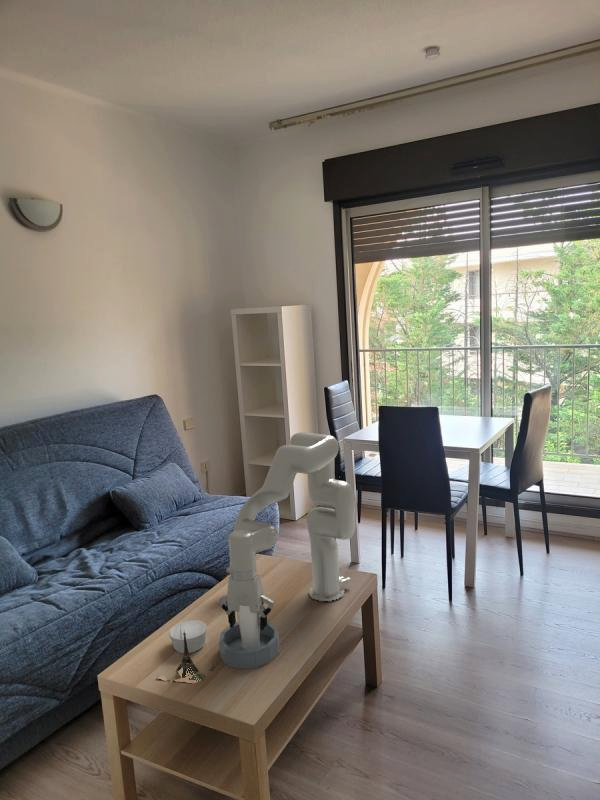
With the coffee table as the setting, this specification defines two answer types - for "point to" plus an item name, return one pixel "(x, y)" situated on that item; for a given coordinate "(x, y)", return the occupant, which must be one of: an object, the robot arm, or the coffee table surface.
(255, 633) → the drinking glass
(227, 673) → the coffee table surface
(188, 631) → the ramekin
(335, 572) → the robot arm
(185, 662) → the eiffel tower figurine
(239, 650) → the bowl
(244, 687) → the coffee table surface
